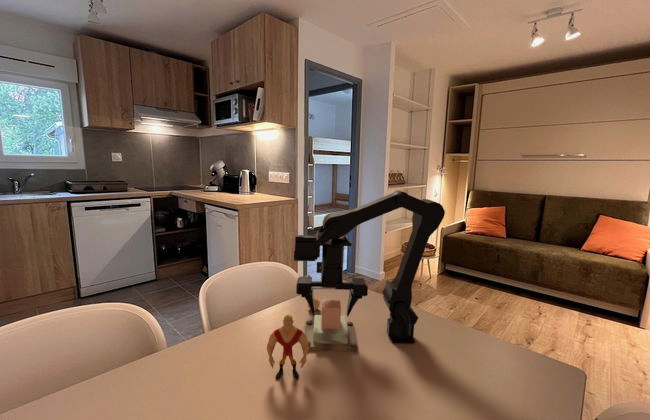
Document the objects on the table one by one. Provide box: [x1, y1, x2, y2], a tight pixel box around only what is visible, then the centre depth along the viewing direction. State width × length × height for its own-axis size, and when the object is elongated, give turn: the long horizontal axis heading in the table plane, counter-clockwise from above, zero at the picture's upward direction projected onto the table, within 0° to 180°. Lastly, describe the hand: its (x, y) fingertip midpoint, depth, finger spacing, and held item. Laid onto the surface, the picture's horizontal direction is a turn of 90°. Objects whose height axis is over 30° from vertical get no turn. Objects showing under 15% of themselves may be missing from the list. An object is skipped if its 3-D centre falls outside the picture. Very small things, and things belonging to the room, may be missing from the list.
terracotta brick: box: [321, 298, 342, 329], centre depth 81 cm, size 5×5×6 cm
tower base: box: [304, 314, 358, 352], centre depth 82 cm, size 14×12×4 cm
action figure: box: [266, 314, 310, 380], centre depth 66 cm, size 10×4×15 cm, turn 92°
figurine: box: [304, 274, 321, 311], centre depth 96 cm, size 8×6×12 cm
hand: (330, 315), depth 81 cm, fingers open, 9 cm apart
